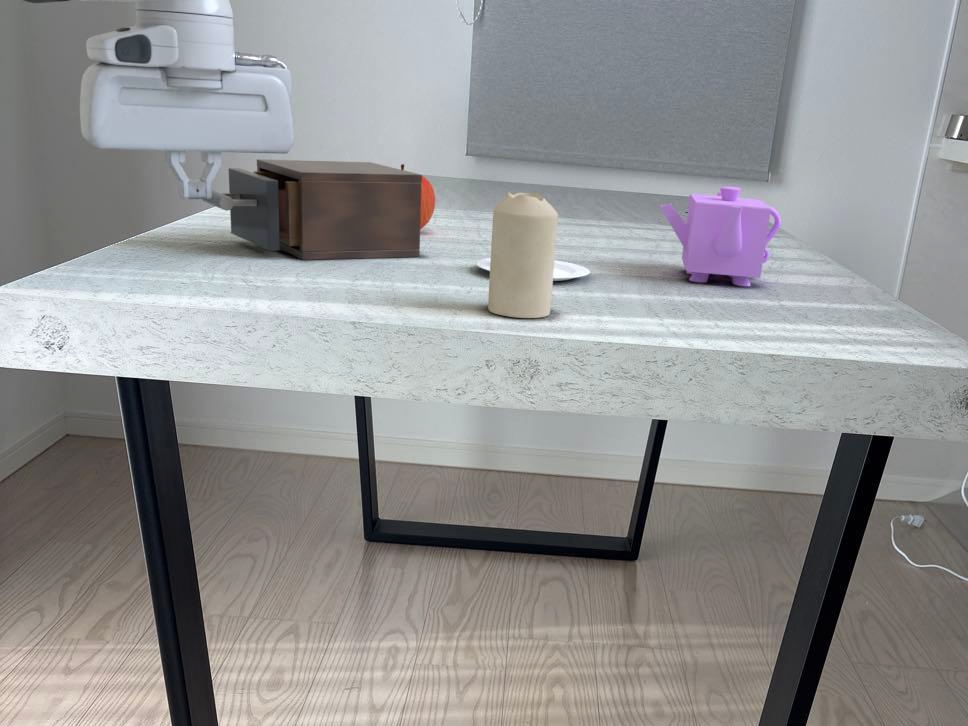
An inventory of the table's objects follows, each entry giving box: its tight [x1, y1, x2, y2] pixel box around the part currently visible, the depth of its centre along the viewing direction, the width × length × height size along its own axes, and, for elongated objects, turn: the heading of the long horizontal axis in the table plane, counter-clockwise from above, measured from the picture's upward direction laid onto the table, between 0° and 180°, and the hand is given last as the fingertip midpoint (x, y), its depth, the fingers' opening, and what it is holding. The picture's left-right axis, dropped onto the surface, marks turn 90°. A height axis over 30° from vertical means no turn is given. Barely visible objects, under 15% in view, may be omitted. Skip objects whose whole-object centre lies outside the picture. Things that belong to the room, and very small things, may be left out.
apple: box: [400, 163, 436, 230], centre depth 132 cm, size 8×8×8 cm
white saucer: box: [475, 257, 591, 282], centre depth 110 cm, size 12×12×4 cm
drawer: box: [201, 167, 300, 252], centre depth 112 cm, size 16×11×7 cm
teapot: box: [660, 185, 782, 287], centre depth 115 cm, size 18×13×10 cm
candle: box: [487, 192, 559, 319], centre depth 91 cm, size 6×6×10 cm
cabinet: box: [256, 158, 423, 261], centre depth 115 cm, size 14×13×9 cm
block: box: [278, 189, 287, 231], centre depth 113 cm, size 4×4×4 cm
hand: (195, 198), depth 107 cm, fingers closed
